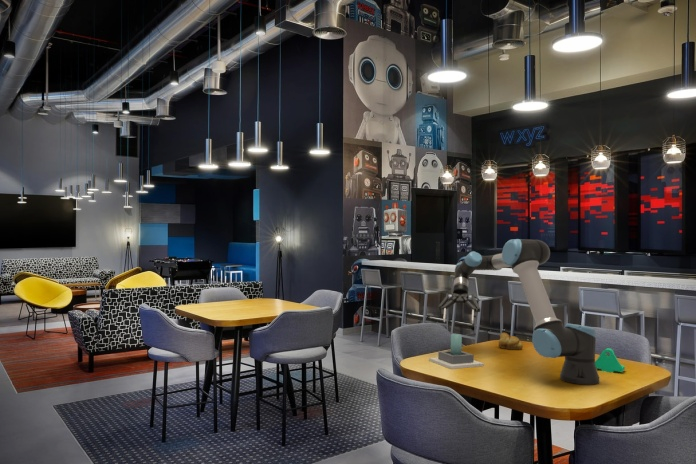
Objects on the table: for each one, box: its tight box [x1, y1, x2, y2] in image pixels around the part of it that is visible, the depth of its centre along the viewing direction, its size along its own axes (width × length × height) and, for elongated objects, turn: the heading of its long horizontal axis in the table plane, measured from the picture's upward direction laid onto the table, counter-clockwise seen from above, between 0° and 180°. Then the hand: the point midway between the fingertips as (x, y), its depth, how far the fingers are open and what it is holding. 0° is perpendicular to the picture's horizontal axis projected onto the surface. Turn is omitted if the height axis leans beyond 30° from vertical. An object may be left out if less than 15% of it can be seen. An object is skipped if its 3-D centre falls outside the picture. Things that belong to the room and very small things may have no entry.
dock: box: [428, 350, 485, 370], centre depth 255 cm, size 18×18×5 cm
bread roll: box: [498, 332, 524, 350], centre depth 294 cm, size 13×10×8 cm
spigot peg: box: [450, 333, 463, 355], centre depth 255 cm, size 5×5×12 cm
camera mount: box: [595, 347, 626, 373], centre depth 247 cm, size 12×8×10 cm, turn 54°
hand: (458, 321), depth 265 cm, fingers open, 13 cm apart
